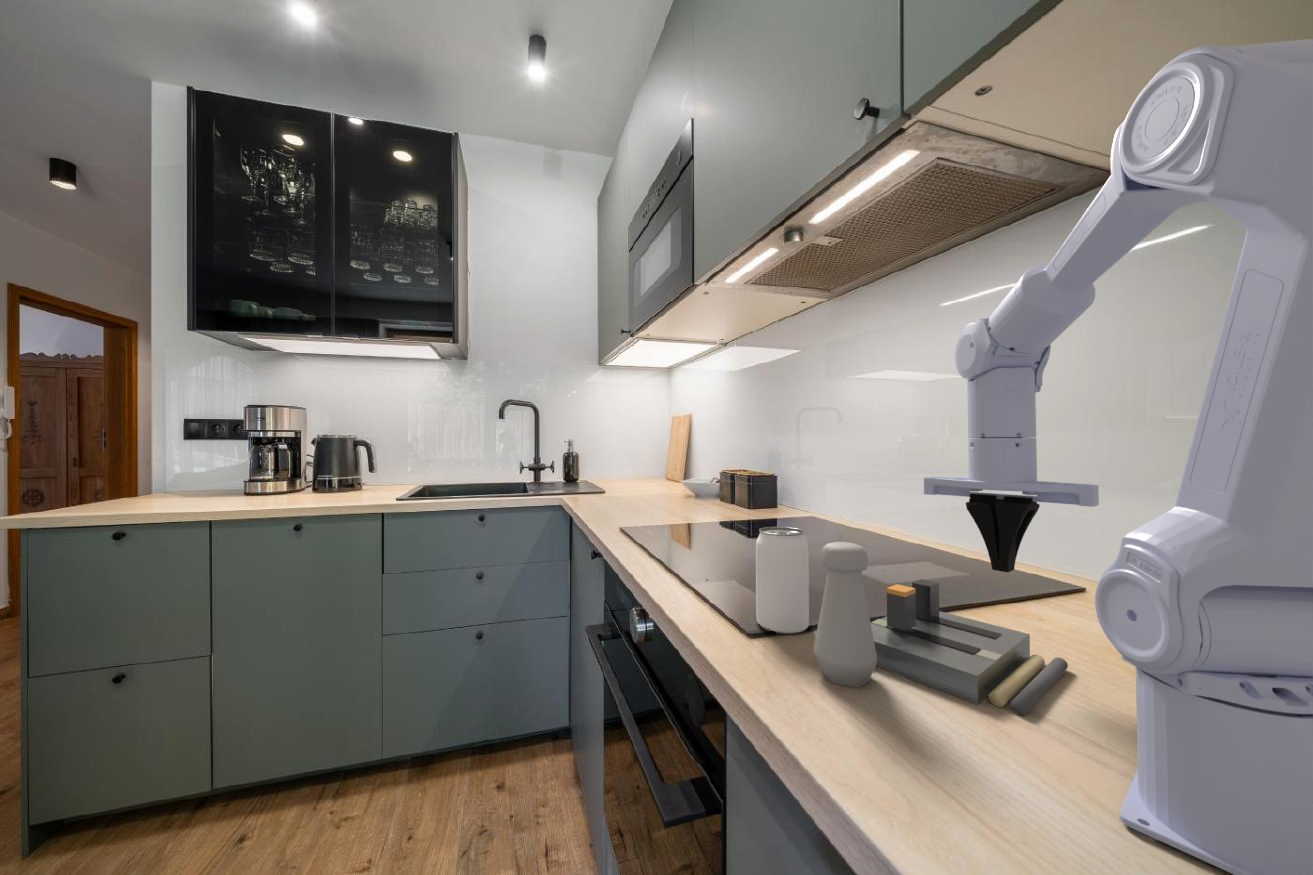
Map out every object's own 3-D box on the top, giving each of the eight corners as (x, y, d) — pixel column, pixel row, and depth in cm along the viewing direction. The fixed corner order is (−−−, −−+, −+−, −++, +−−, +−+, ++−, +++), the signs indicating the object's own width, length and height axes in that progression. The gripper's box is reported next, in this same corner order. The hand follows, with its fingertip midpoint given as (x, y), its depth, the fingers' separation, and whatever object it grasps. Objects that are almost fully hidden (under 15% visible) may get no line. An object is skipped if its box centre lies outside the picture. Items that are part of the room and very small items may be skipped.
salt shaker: (838, 695, 43) (836, 552, 43) (802, 666, 48) (801, 540, 48) (891, 686, 44) (889, 548, 44) (850, 659, 50) (849, 537, 50)
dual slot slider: (1030, 657, 50) (1028, 596, 50) (977, 704, 41) (976, 629, 41) (913, 624, 60) (912, 572, 60) (849, 656, 50) (849, 595, 51)
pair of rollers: (1069, 670, 47) (1069, 658, 47) (1028, 717, 39) (1027, 703, 39) (1034, 660, 49) (1034, 648, 50) (988, 703, 41) (988, 689, 41)
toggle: (915, 625, 52) (915, 588, 52) (905, 630, 50) (905, 592, 50) (897, 620, 53) (897, 584, 53) (887, 625, 52) (886, 588, 52)
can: (819, 632, 57) (818, 533, 57) (771, 637, 55) (770, 536, 56) (791, 614, 63) (791, 525, 64) (747, 618, 62) (747, 527, 62)
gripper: (1104, 437, 45) (1107, 578, 45) (941, 439, 57) (942, 551, 57) (1087, 436, 41) (1090, 592, 41) (914, 439, 53) (916, 560, 52)
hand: (1003, 569), depth 48 cm, fingers closed
